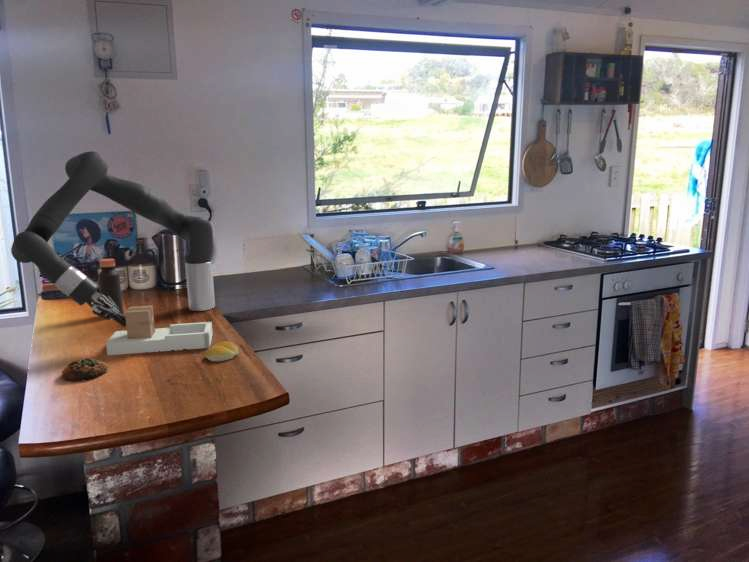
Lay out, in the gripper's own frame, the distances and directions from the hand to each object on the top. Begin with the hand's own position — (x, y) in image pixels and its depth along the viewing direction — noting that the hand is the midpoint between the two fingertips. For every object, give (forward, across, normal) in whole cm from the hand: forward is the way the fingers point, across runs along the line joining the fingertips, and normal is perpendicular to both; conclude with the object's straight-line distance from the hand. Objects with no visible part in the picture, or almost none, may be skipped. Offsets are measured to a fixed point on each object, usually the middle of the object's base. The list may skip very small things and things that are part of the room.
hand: (126, 323), depth 180 cm
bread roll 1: (0, -20, +10) cm, 23 cm away
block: (+5, 0, 0) cm, 5 cm away
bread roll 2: (+25, -14, -14) cm, 32 cm away
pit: (+17, 0, -7) cm, 19 cm away
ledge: (+7, 0, +3) cm, 8 cm away
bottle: (-4, +38, +14) cm, 41 cm away
